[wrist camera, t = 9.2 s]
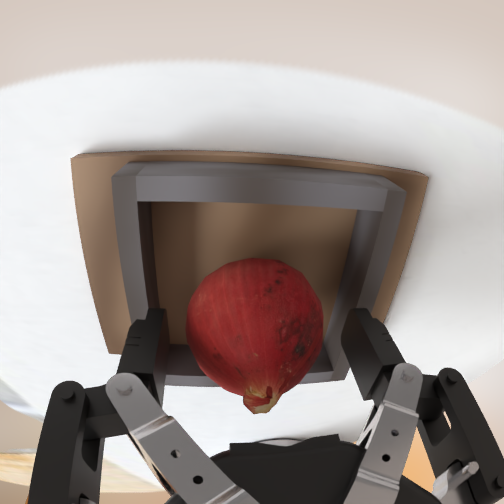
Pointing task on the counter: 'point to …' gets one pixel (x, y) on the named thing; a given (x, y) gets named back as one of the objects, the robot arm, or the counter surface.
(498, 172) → the counter surface
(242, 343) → the onion
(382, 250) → the pocket board
